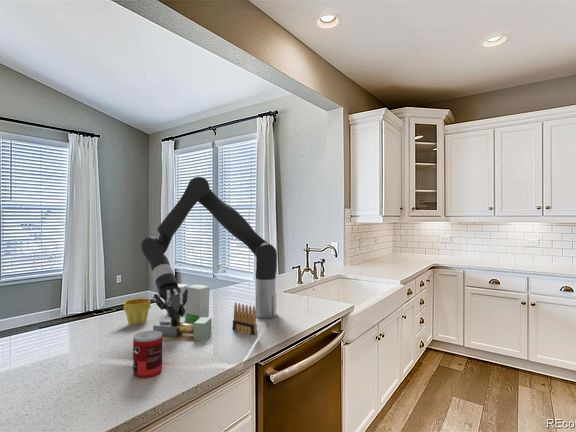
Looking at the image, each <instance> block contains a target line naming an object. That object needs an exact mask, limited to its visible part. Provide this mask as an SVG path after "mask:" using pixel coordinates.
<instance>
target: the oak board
mask: <svg viewBox="0 0 576 432" xmlns="http://www.w3.org/2000/svg"><path fill="white" fill-rule="evenodd" d="M211 334H213V331H211ZM162 341H179V342H183V341H184V342H196V343H203V342H204V341H205V340H194V334H187V333H182V334H181V335H179V336H178V337H177V338H170V337H162Z"/></svg>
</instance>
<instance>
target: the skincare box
mask: <svg viewBox="0 0 576 432" xmlns="http://www.w3.org/2000/svg"><path fill="white" fill-rule="evenodd" d="M210 288H211V287H210V286H207V285H202V284H196V283H195V284H191V285H189V286H187V287H186V290H188V294H187V302H186V304H185V313H184V321H185V322H190V323H191V322H192V323H194V322H196V321H197V320H198V319H200V318H201V317H208V318H210V317H209V316H210V315H209V313H210V293H211V292H210V291H211V289H210Z"/></svg>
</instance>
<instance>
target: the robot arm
mask: <svg viewBox="0 0 576 432" xmlns="http://www.w3.org/2000/svg"><path fill="white" fill-rule="evenodd" d="M197 203H199V204H200V205H201V206H203V207H204V208H205V209H206V210H207V211H208V212H209V213H210V214H211V215H212V216H213V217H214V219H215V220H216V221H217V222H218V223H219V224H220V225H221V226H222V227H223V228H224V229H225V230H226V231H227V232H228V233H230V235H232V236H233V237H235V238H236V239H238V240H239V241H240V242H242V243H243V244H245V246H247V248H248V249H250V251H251V252H252V253H253V255H254V256H255V262H256V263H255V269H256V270H255V305H254V306H255V313H256V318H260V319H270V318H272V319H274V318H276V315H277V293H276V292H277V291H276V290H277V289H276V287H277V286H276V285H277V283H276V278H277V269H278V268H277V266H278V265H277V263H278V261H277V260H278V259H277V258H278V256H277V250H276V248H275V247H274V245H272V244H271V243H269V242H268V241H266V240H265V239H263V238H262V237H261V236H260V235H259V234H258V233H257V232H256V231H255V230H254V229H253V227H252V226H251V225H250V224H249V222H248V221H247V220H246V219H245V218H244V217H243V216H242V215H241V214H240V213H239V212H238V211H237V210H236V209H235V208H233V207H232V206H231V205H229V204H227V203H226V202H224V201H223V200H222V199H220V198H219V197H218V196H217V194H215V193H214V192H213V191H212V189H211V188H210V183H209V181H208V180H207V179H206V178H204V177H203V176H195V177H193V178H192V179H190V180H189V181H188V185H187V186H186V188H185V191H184V192H183V193H182V196H181V197H180V199H179V200H178V201H177V203H176V204H175V205H174V207H173V208H172V209H171V211H170V212H169V213H168V214H167V215H166V217H165V218H164V219H163V220H162V221H161V223H160V225H159V226H158V227H157V229H156V230H157V232H158V233H159V236H158V238H157V237H155V236H151V235H149V236H146V237H145V238H143V240H142V241H141V244H140V245H141V250H142V253H143V256H145V258H146V260H147V261H148V263H149V265H150V270H151V272H152V276H153V281H154V282H155V286H156V288H157V289H156V290H157V291H158V293H154V295H153V297H152V298H151V300H152V301H153V302H154V303H155V305H156V306H157V307H158V308H159V309H160V310H161V311H163V310H165V311H166V312H167V316H168V317H169V318H170V319H171V318H173V317H174V312H173V309H172V307H171V302H170V301H171V294H172V293H181V296H183V297H182V300H181V297H180V317H184V316H185V309H184V307H183V306H185V304H186V302H187V294H188V290H185V291H184V290H181V289H180V288H179V287H178V284H179V283H178V281H177V279H176V275H175V274H174V270H173V268H172V266H171V265H170V261H169V259H168V257H167V256H166V255H165V253H166V252H167V250H168V248H169V246H170V243H171V241H172V238H173V237H174V235H175V234H176V233H177V231H178V229H179V228H180V227H181V225H182V224H183V223H184V222H185V220H186V218H187V216H188V214H189V213H190V211H192V209H193V207H195V205H196V204H197Z"/></svg>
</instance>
